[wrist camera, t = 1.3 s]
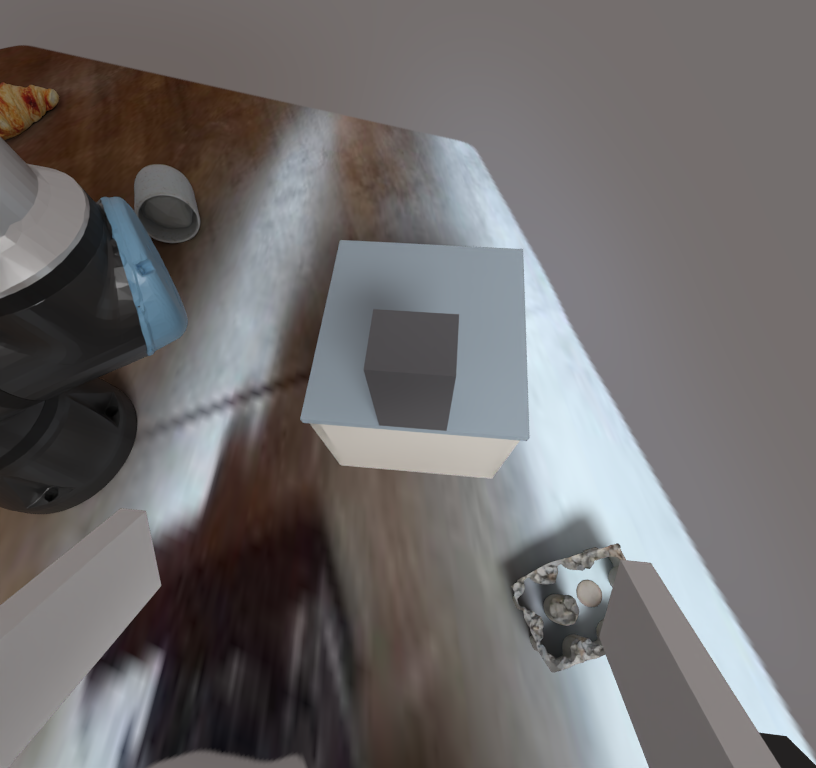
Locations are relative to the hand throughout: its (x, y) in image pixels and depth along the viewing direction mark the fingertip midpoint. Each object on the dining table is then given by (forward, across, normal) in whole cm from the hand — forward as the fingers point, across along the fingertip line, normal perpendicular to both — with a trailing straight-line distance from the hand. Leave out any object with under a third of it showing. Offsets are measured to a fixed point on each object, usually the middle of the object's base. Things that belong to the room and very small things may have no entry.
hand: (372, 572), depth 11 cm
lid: (+25, 0, +2) cm, 25 cm away
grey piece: (+21, +15, -22) cm, 34 cm away
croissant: (+65, -77, +24) cm, 104 cm away
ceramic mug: (+51, -39, +9) cm, 65 cm away
